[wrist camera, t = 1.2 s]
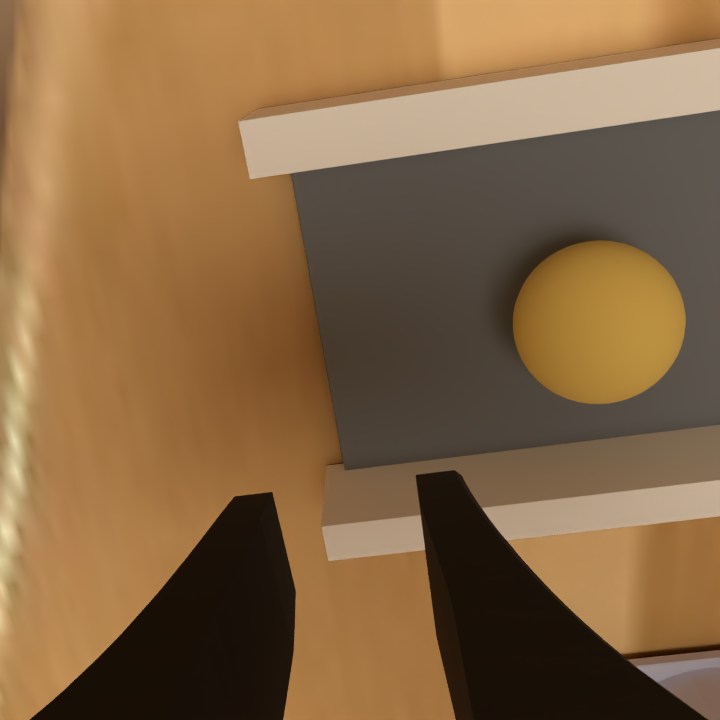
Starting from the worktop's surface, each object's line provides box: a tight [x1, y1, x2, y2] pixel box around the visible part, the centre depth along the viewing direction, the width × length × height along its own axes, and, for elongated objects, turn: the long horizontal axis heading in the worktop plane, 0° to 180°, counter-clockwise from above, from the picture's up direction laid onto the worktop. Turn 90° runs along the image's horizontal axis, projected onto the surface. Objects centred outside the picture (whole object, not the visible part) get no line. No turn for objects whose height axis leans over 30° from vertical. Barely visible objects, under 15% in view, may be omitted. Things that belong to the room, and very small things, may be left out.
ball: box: [513, 240, 686, 404], centre depth 17 cm, size 4×4×4 cm
